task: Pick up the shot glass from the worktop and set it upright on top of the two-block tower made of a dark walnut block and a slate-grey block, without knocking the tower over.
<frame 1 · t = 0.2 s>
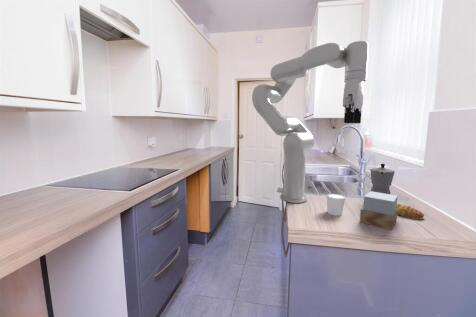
hand: (352, 123, 92), 36 cm above the countertop, tool pointing down, fingers open, 9 cm apart
coffeepot: (379, 202, 110), on the countertop
pastry: (406, 215, 94), on the countertop
grey top block: (379, 209, 86), point 5 cm above the countertop, touching walnut base block
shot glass: (334, 213, 96), on the countertop
walnut base block: (378, 222, 87), on the countertop, touching grey top block
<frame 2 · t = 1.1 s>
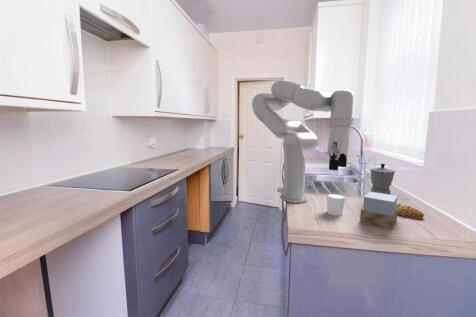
hand: (337, 168, 93), 18 cm above the countertop, tool pointing down, fingers open, 9 cm apart
nothing on the countertop moved.
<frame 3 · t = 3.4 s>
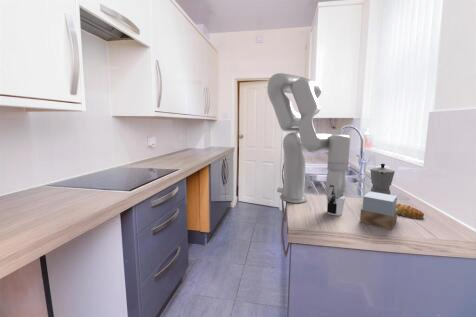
hand: (334, 210, 95), 1 cm above the countertop, tool pointing down, fingers closed on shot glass, 6 cm apart
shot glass: (334, 213, 96), on the countertop, touching gripper
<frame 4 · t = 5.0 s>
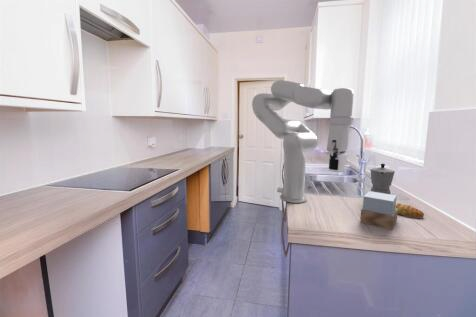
hand: (336, 167, 93), 18 cm above the countertop, tool pointing down, fingers closed on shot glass, 6 cm apart
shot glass: (336, 171, 93), point 17 cm above the countertop, touching gripper
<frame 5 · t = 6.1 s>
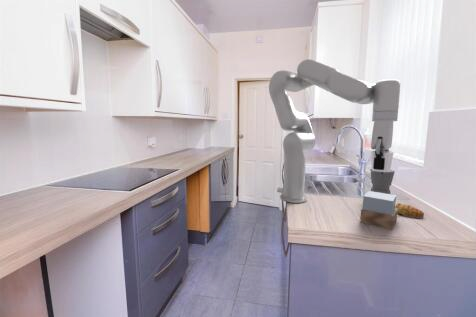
hand: (380, 167, 85), 20 cm above the countertop, tool pointing down, fingers closed on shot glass, 6 cm apart
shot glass: (380, 171, 85), point 19 cm above the countertop, touching gripper
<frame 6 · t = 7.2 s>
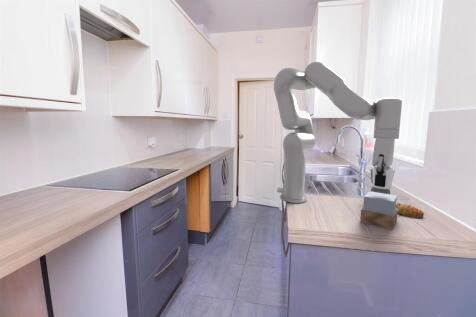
hand: (381, 184, 85), 14 cm above the countertop, tool pointing down, fingers closed on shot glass, 6 cm apart
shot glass: (381, 187, 85), point 13 cm above the countertop, touching gripper
when the fingers open (12 cm above the countertop, at t = 8.0 s): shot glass drops 2 cm, resting on grey top block.
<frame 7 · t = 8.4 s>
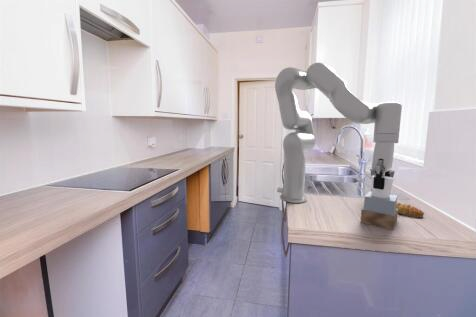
hand: (381, 186, 85), 13 cm above the countertop, tool pointing down, fingers open, 9 cm apart
grey top block: (380, 209, 86), point 5 cm above the countertop, touching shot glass, walnut base block
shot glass: (380, 196, 86), point 10 cm above the countertop, touching grey top block
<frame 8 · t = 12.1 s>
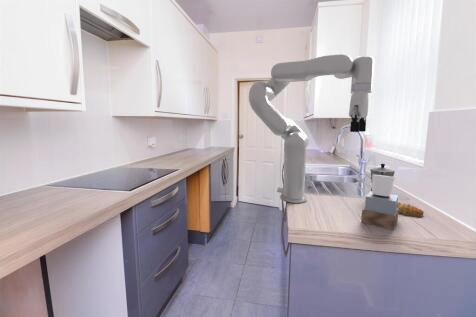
hand: (357, 131, 99), 32 cm above the countertop, tool pointing down, fingers open, 9 cm apart
at the end: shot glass 0.5 cm off-centre on the grey top block, point 5.5 cm above the grey top block's base; grey top block 0.1 cm off-centre on the walnut base block, point 5.0 cm above the walnut base block's base; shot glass tilted 15° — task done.
